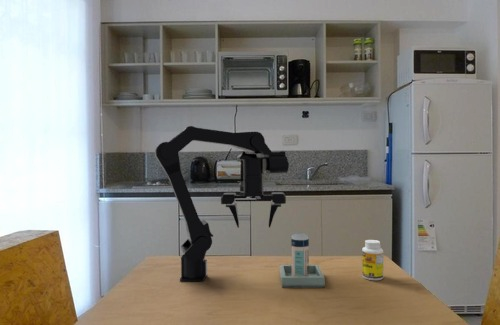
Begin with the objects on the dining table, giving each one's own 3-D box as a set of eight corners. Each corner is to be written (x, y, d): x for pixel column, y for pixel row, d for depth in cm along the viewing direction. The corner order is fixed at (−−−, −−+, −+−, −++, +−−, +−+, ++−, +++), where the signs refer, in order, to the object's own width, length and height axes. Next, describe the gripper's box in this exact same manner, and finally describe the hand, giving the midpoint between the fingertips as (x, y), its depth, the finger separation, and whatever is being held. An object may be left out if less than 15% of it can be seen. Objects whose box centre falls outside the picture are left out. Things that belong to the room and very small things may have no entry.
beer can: (304, 274, 103) (304, 232, 103) (312, 279, 99) (311, 235, 99) (288, 276, 102) (288, 233, 102) (295, 281, 98) (295, 236, 97)
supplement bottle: (358, 276, 103) (357, 240, 103) (373, 273, 105) (373, 238, 105) (371, 282, 98) (371, 244, 98) (387, 279, 100) (387, 242, 100)
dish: (281, 287, 95) (281, 277, 95) (280, 273, 106) (279, 264, 106) (324, 287, 95) (324, 277, 95) (318, 273, 106) (318, 264, 106)
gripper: (283, 172, 116) (283, 222, 116) (224, 173, 117) (225, 222, 117) (285, 174, 105) (286, 229, 105) (220, 175, 106) (221, 229, 106)
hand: (253, 227), depth 109 cm, fingers open, 9 cm apart
